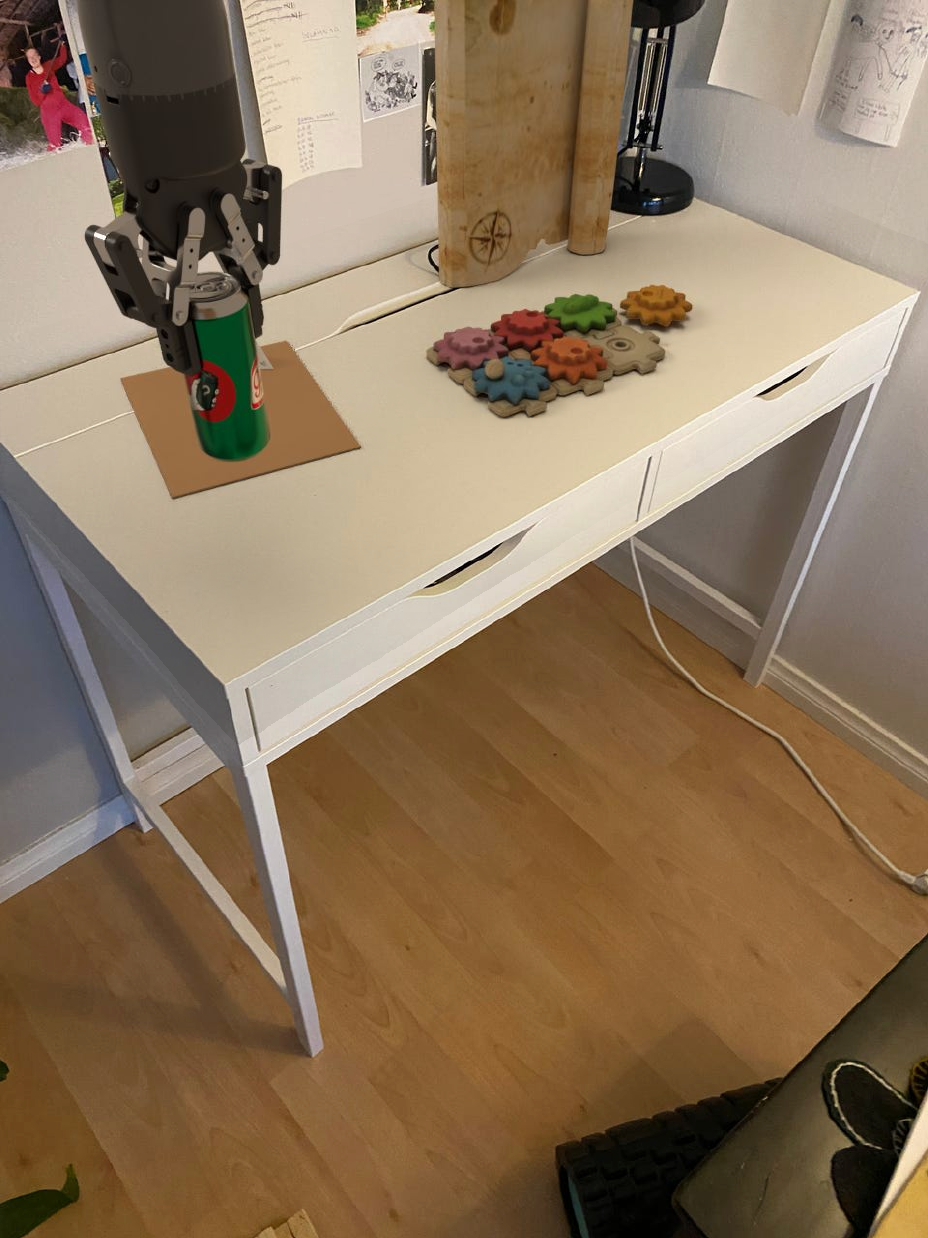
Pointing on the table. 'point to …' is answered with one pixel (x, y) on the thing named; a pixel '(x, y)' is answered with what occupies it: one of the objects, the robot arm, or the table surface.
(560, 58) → the parchment
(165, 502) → the table surface
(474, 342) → the gear puzzle
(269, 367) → the tetrahedral die
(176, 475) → the kraft paper
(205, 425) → the soda can
